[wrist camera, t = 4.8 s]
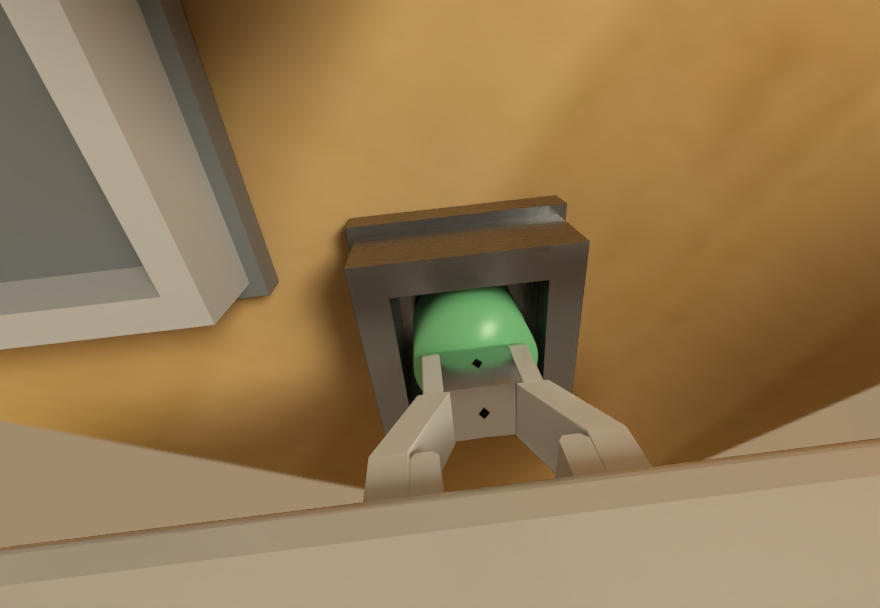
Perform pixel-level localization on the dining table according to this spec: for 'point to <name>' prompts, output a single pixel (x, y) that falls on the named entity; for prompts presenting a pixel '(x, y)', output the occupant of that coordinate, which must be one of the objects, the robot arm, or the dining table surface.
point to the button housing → (464, 282)
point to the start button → (467, 323)
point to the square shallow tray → (115, 177)
